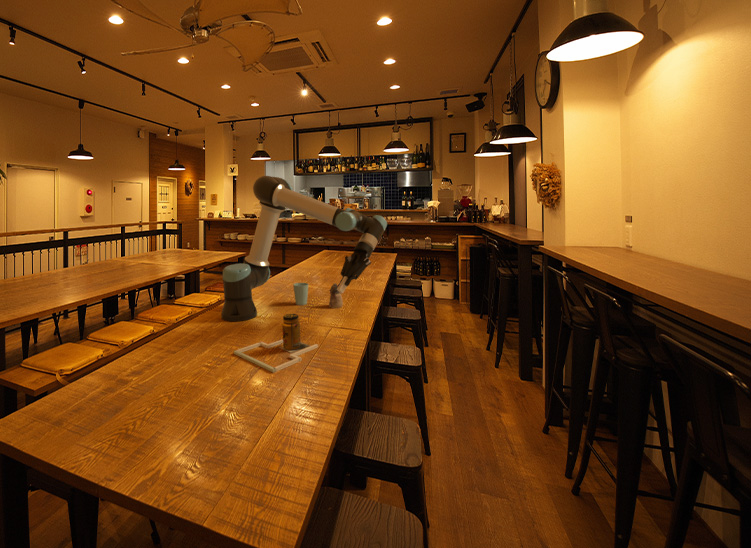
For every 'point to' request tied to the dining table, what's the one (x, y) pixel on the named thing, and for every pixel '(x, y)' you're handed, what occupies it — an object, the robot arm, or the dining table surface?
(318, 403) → the dining table surface
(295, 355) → the t outline
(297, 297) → the cup
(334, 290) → the figurine
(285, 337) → the condiment
